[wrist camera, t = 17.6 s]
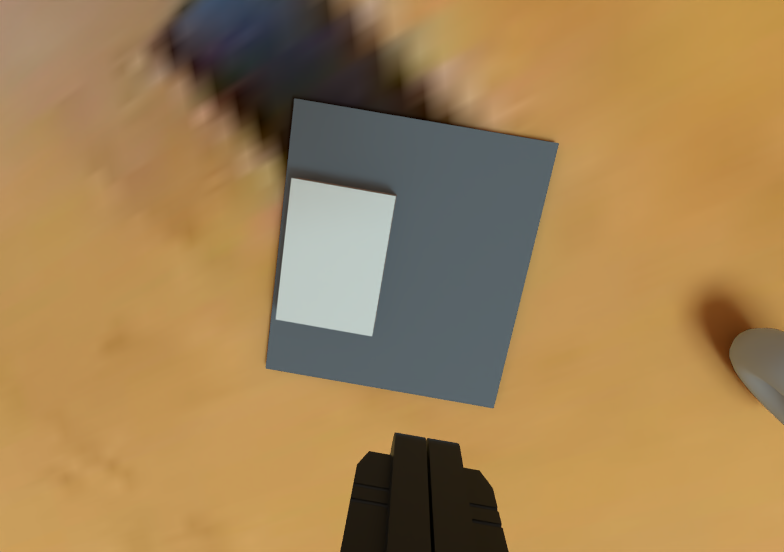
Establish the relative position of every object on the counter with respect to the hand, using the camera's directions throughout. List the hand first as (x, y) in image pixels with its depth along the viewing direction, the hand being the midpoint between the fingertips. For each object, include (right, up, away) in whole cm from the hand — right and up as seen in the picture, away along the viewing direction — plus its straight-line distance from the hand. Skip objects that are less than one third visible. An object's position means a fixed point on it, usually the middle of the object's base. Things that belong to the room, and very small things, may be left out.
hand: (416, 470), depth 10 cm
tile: (-1, +5, +21) cm, 22 cm away
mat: (0, +6, +22) cm, 23 cm away
